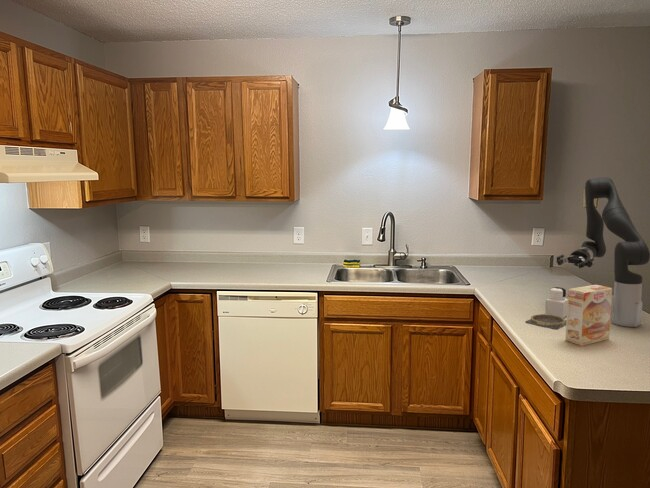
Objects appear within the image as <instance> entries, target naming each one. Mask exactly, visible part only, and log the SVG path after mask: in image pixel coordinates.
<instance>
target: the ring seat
mask: <svg viewBox="0 0 650 488" xmlns="http://www.w3.org/2000/svg"><path fill="white" fill-rule="evenodd" d="M566 320H567V319H566V318H565V317H564V318H561V317H559V316H554V315H546V313H545V314H534V315H532V316H530V319H527V320H525V323H526V324H529V325H533V326H537V327H543V328H548V329H552V330H559V329H561V328H563V327H566Z"/></svg>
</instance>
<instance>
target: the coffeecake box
mask: <svg viewBox="0 0 650 488" xmlns="http://www.w3.org/2000/svg"><path fill="white" fill-rule="evenodd" d="M613 290H614V287H613V288H612V287H609V286H604V285H599V284H592V285H585V286H579V287H572V288H568V289H567V299H568V301H567V316H566V319H565V320H566V325H565V341H567V342H570V343H573V344H576V345H577V346H579V347H580V346H581V347H582V346H587V345H592V344H595V343H599V342H603V341H607V340H610V332H611V331H610V330H611V329H610V327H611V318H612V317H611V313H612V301H613V300H612V296H613Z"/></svg>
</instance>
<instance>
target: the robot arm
mask: <svg viewBox="0 0 650 488" xmlns="http://www.w3.org/2000/svg"><path fill="white" fill-rule="evenodd" d="M584 186H585V187H584V197H585V210H586V231H585V236H586V238H587V239H589V240H585V241H583V242H582V244H581V246H580V248H578V249H576V250H574V251H572V252H571V254H570V255H568V256H567V255H566V256H565V255H564V254H561V255H559V256H556V263H557V266H562V265H563V264H565V265H574V266H576V267H578V269H583V268H585V267H588V268H591V267H593V266H594V265H595V264H594V263H595V261H594V260H595V258H603V257H604V256H605V255H606V252H607V246H606V244H605V240H604V227H606V228H607V230H608V231H609V232H611V233H612V234H614V235H615V236H617V237H618V238H621V239H622V240H623V241H619V242H617V244H616V245H615V247H614V257H613V259H614V266H613V267H614V270H613V272H614V287H613V300H612V301H613V303H612V317H611V318H612V319H611V323H613V324H615V325H617V326H621V327H628V328H630V327H631V328H638V327H639V326H640V324H641V325H642V315H643V300H642V289H643V287H642V286H643V276H642V275H640V274H639V273H636V272H632V271H630V270H629V266H643V265H646V264H648V263H649V261H650V249H649V247H648V245H647V243H646V242H645V240H644V238H643V237H642V235H640V233H639V232H638V230H637V229H636V227H635V225H634V223H633V221H632V219H631V217H630V215H629V213H628V210H627V209H626V208H625V207H624V205H623V203H622V200H621V199H620V196H619V193H618V190H617V188H616V185H615V183H614V180H613V179H612V178H610V177H597V178H589V179H587V180H586V181H585V185H584ZM595 199H607V200H608V201H607V203H606V205H605V206H604V208H603V210H602V212H601V214H600V213H599V211H598V210H597V207H596V206H595ZM590 240H591V241H590Z"/></svg>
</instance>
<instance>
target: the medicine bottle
mask: <svg viewBox="0 0 650 488" xmlns="http://www.w3.org/2000/svg"><path fill="white" fill-rule="evenodd" d="M549 290H550V291H549V298H547V299H546V300H545V315H554V316H559V317H561V318H564V319H565V317H567V301H568V298H566V295H567V294H566V293H567V290H566V288H563V287H559V286H554V287H551V288H550V289H549Z"/></svg>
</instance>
